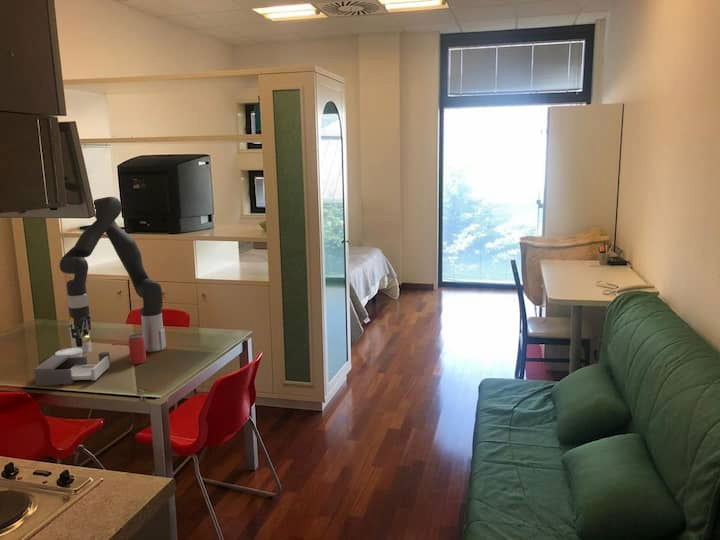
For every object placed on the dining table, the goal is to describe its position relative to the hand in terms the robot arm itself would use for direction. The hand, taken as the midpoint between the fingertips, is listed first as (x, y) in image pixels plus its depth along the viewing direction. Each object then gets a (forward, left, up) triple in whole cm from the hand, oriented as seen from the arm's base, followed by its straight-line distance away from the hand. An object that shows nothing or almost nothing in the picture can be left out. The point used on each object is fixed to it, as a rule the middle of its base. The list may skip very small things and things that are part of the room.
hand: (83, 344), depth 244 cm
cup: (+16, -33, -14) cm, 39 cm away
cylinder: (-2, -14, -14) cm, 20 cm away
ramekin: (+15, -18, -15) cm, 28 cm away
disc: (0, 0, +1) cm, 1 cm away
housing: (+10, 0, -14) cm, 17 cm away
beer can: (-16, -16, -14) cm, 27 cm away
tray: (0, 0, -13) cm, 13 cm away
